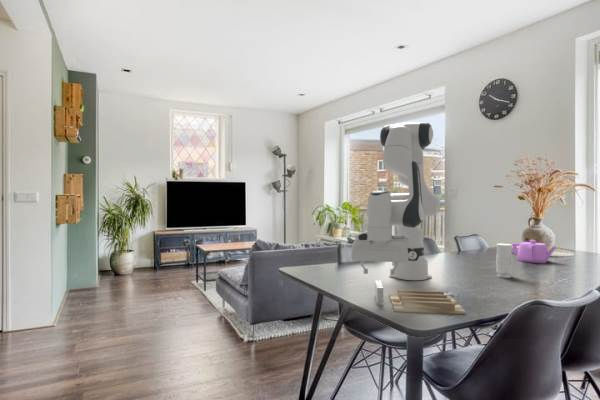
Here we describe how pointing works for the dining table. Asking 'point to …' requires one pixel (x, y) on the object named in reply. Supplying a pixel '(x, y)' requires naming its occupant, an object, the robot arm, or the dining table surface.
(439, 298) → the rack
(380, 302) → the blanking panel
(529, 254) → the teakettle
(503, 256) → the candle
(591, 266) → the dining table surface
